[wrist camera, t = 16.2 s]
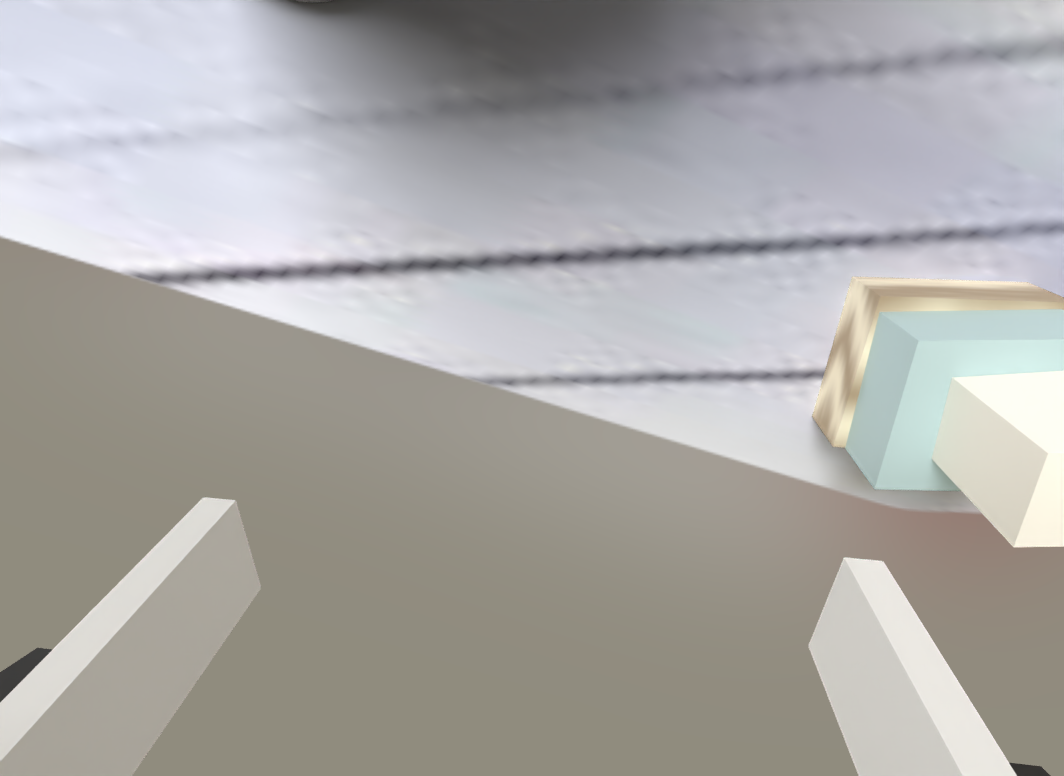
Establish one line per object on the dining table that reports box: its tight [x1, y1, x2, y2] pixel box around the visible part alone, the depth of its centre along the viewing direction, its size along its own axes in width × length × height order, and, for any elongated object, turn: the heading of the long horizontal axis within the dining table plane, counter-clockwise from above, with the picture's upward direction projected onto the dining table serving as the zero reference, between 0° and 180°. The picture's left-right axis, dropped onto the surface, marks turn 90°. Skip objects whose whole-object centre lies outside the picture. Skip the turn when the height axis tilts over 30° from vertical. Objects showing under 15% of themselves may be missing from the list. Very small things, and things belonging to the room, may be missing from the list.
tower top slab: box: [845, 309, 1064, 491], centre depth 36 cm, size 11×11×5 cm
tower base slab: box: [812, 277, 1064, 448], centre depth 40 cm, size 12×12×5 cm
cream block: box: [932, 371, 1064, 547], centre depth 30 cm, size 6×6×8 cm
